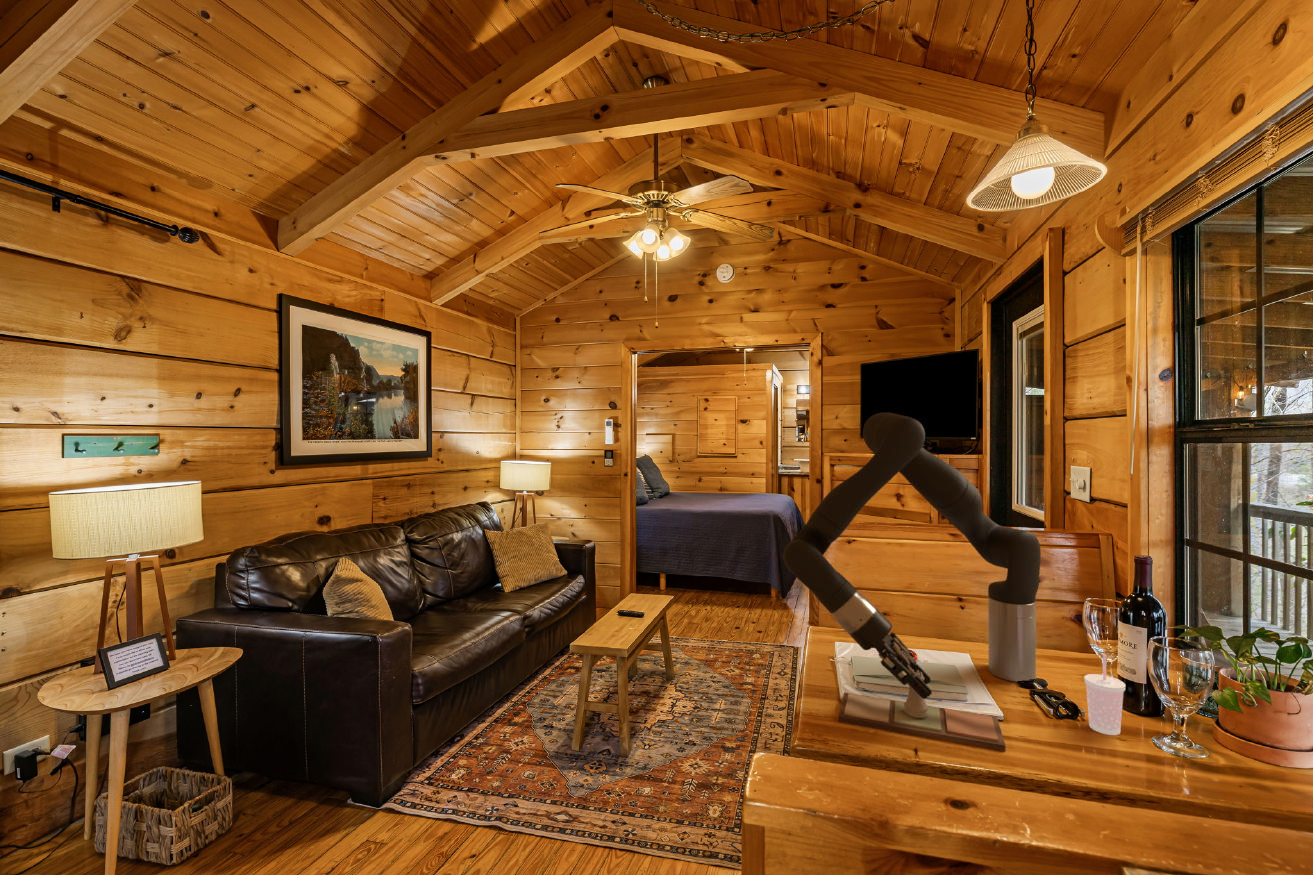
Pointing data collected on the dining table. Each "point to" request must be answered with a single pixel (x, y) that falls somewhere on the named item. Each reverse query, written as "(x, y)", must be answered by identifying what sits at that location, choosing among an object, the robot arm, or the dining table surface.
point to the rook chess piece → (916, 702)
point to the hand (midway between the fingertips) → (927, 688)
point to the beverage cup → (1104, 702)
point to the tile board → (923, 721)
